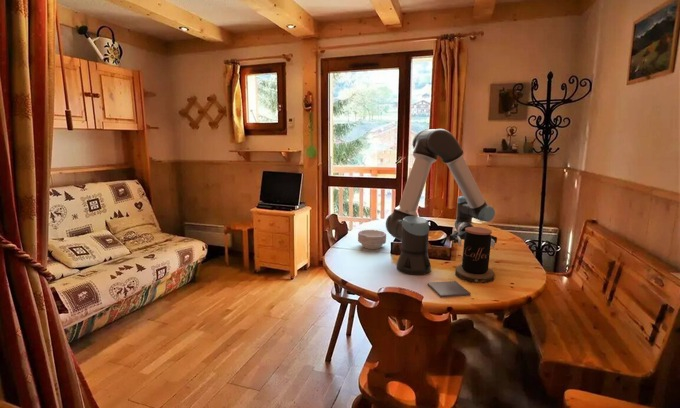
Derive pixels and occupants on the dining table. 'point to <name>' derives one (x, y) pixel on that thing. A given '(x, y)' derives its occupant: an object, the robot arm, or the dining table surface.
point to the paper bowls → (371, 238)
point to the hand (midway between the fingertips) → (477, 243)
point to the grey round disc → (474, 276)
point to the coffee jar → (476, 250)
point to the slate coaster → (448, 289)
